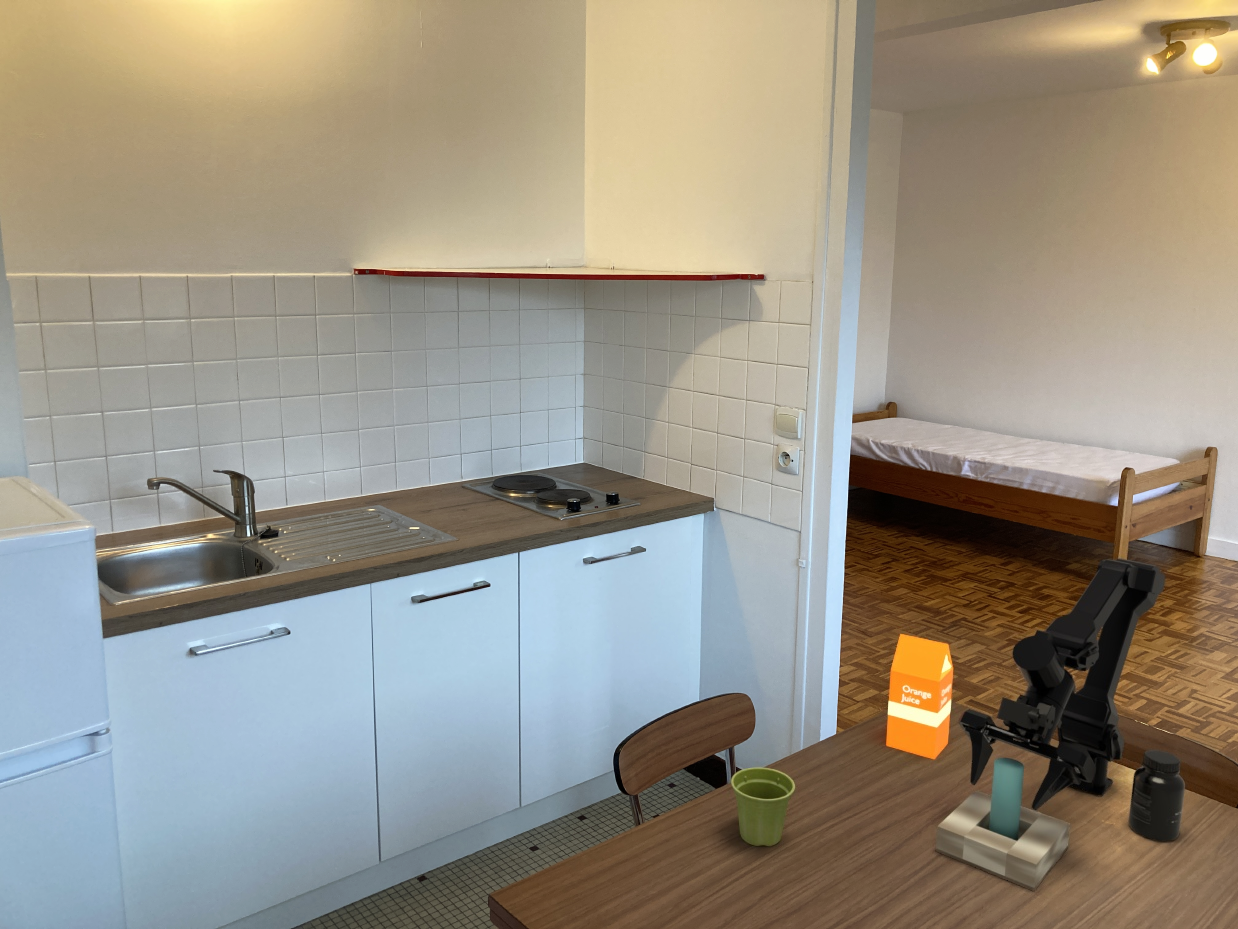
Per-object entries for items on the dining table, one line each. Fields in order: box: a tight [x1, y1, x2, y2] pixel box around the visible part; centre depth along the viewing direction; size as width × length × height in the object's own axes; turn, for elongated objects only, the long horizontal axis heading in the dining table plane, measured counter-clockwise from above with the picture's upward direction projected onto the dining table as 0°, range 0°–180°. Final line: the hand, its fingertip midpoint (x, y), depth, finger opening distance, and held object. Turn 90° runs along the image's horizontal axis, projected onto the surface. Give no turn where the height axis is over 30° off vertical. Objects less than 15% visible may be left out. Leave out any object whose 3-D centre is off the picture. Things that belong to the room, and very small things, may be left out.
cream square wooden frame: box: [935, 789, 1071, 892], centre depth 141 cm, size 14×14×4 cm
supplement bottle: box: [1128, 749, 1186, 842], centre depth 146 cm, size 7×7×12 cm
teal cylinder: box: [989, 757, 1025, 841], centre depth 140 cm, size 4×4×13 cm
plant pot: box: [730, 766, 796, 847], centre depth 144 cm, size 9×9×9 cm
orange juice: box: [885, 633, 954, 760], centre depth 172 cm, size 8×9×20 cm
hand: (1002, 796), depth 139 cm, fingers open, 9 cm apart
